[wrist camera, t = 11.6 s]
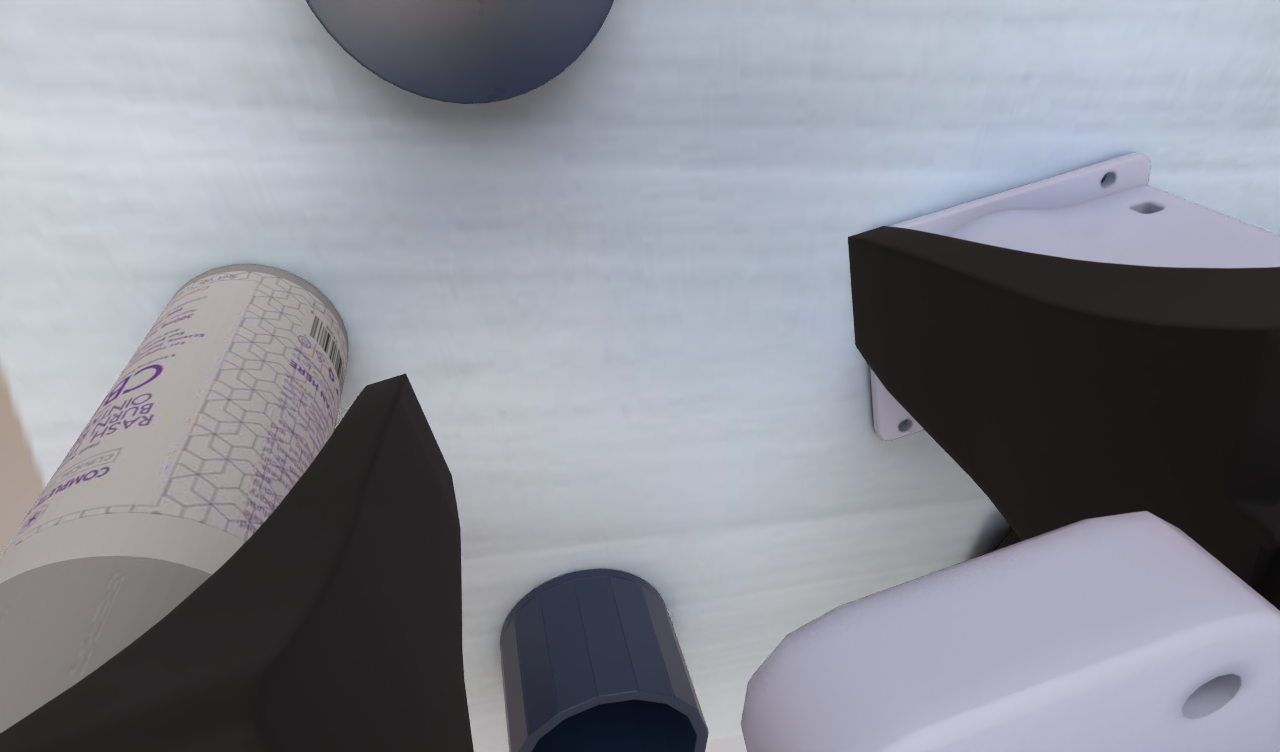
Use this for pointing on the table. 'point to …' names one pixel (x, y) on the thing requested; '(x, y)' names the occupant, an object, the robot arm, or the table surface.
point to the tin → (597, 670)
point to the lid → (463, 42)
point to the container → (169, 474)
